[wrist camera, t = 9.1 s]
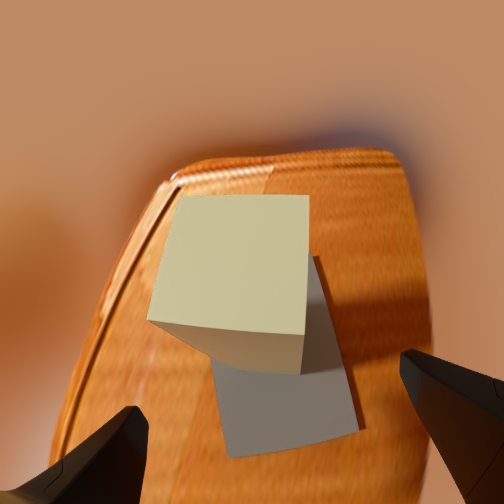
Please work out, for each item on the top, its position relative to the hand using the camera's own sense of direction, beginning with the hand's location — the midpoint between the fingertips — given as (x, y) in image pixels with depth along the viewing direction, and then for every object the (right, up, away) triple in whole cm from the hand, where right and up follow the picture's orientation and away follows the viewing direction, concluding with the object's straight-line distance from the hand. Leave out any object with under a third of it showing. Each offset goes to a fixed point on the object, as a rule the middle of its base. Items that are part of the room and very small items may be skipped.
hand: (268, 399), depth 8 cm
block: (+1, -2, +12) cm, 12 cm away
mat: (+1, -3, +12) cm, 12 cm away
